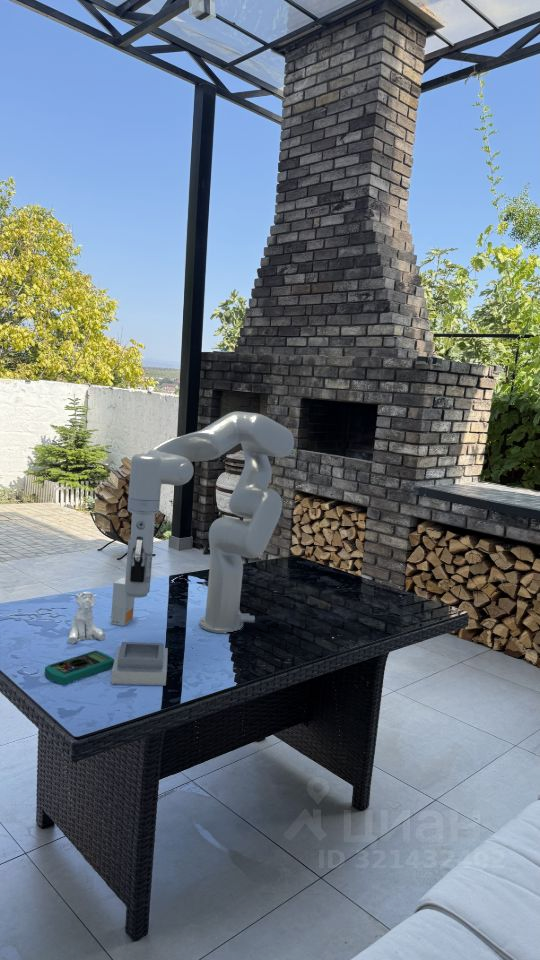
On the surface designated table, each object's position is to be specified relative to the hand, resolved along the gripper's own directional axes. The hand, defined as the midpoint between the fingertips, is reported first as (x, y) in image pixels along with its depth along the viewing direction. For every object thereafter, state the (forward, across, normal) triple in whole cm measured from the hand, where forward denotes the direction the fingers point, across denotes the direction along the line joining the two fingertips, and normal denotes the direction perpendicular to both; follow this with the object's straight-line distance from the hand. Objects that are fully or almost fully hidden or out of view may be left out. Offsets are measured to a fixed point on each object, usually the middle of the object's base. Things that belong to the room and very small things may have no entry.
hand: (138, 577), depth 155 cm
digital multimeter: (+20, -11, +11) cm, 25 cm away
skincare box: (+20, +22, +5) cm, 30 cm away
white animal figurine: (+20, +10, +14) cm, 26 cm away
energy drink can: (+5, 0, 0) cm, 5 cm away
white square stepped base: (+20, -10, -3) cm, 22 cm away
